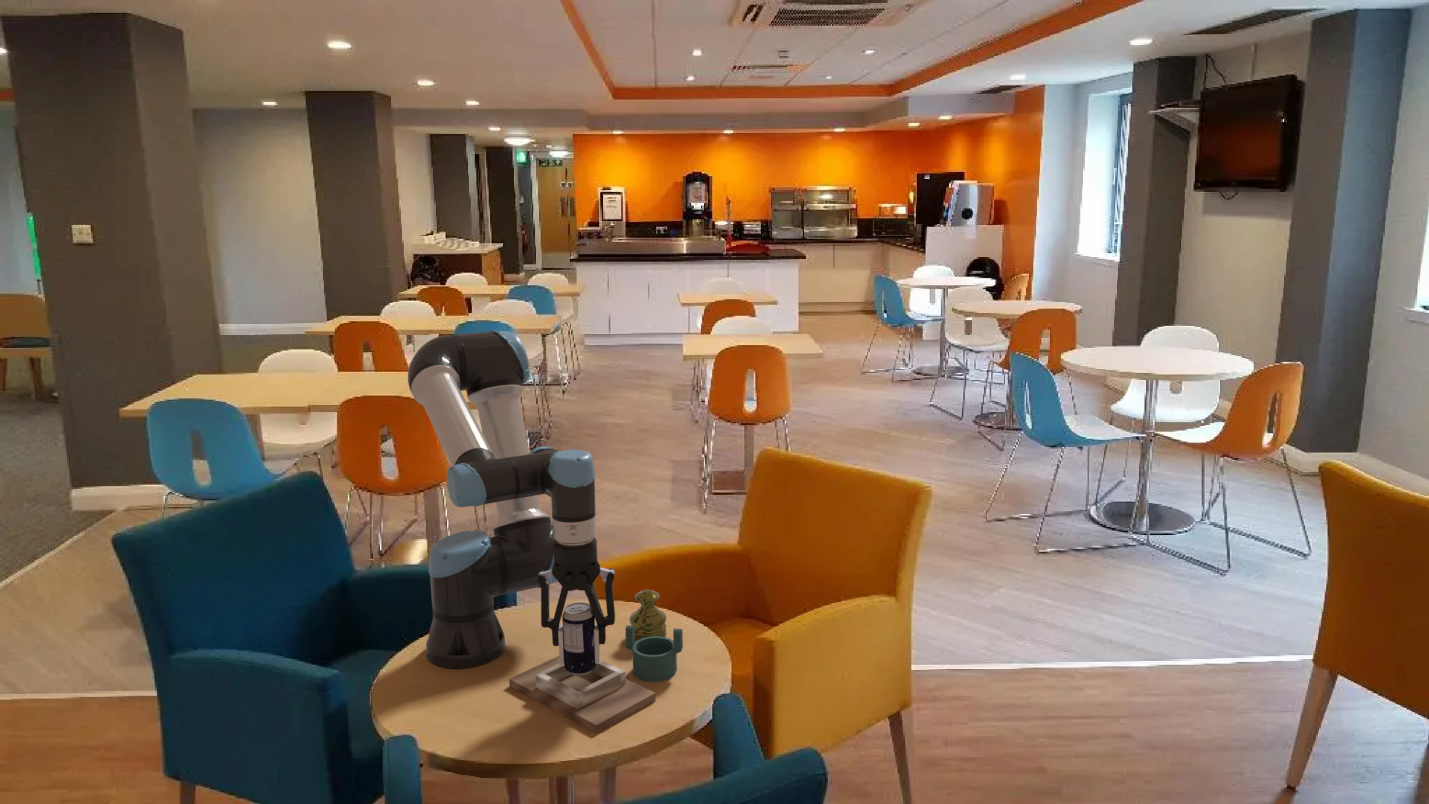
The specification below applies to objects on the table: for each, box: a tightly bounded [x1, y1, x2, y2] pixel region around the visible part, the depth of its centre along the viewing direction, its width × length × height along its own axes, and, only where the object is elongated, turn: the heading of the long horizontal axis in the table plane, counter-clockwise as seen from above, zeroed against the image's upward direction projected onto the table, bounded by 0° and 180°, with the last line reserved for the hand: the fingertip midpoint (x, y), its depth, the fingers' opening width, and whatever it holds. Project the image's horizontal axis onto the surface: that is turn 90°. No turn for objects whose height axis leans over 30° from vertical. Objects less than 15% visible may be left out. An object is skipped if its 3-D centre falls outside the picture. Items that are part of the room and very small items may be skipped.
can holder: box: [508, 655, 657, 734], centre depth 175 cm, size 24×14×4 cm, turn 49°
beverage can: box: [561, 602, 596, 676], centre depth 173 cm, size 6×6×12 cm
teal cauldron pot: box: [625, 625, 684, 683], centre depth 183 cm, size 9×9×9 cm
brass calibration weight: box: [629, 588, 667, 642], centre depth 197 cm, size 7×7×10 cm
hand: (580, 660), depth 174 cm, fingers closed on beverage can, 6 cm apart
